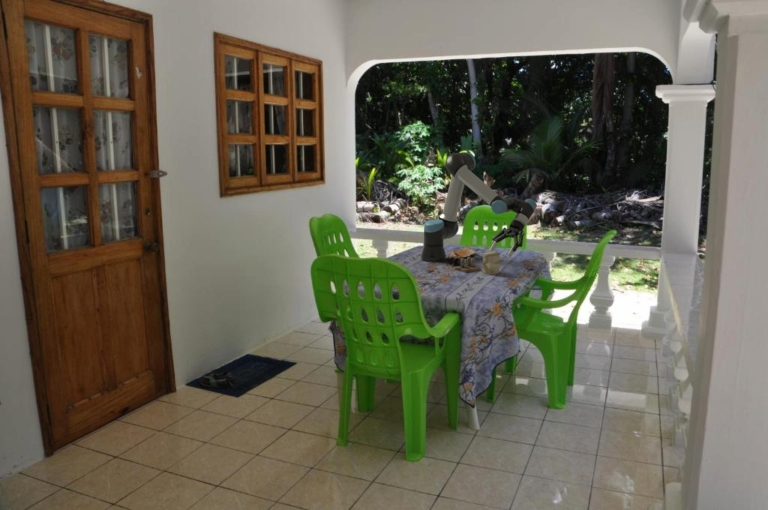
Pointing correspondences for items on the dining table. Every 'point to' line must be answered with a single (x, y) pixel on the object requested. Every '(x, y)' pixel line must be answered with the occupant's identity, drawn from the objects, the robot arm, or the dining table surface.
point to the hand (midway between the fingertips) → (499, 253)
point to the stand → (467, 265)
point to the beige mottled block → (491, 263)
